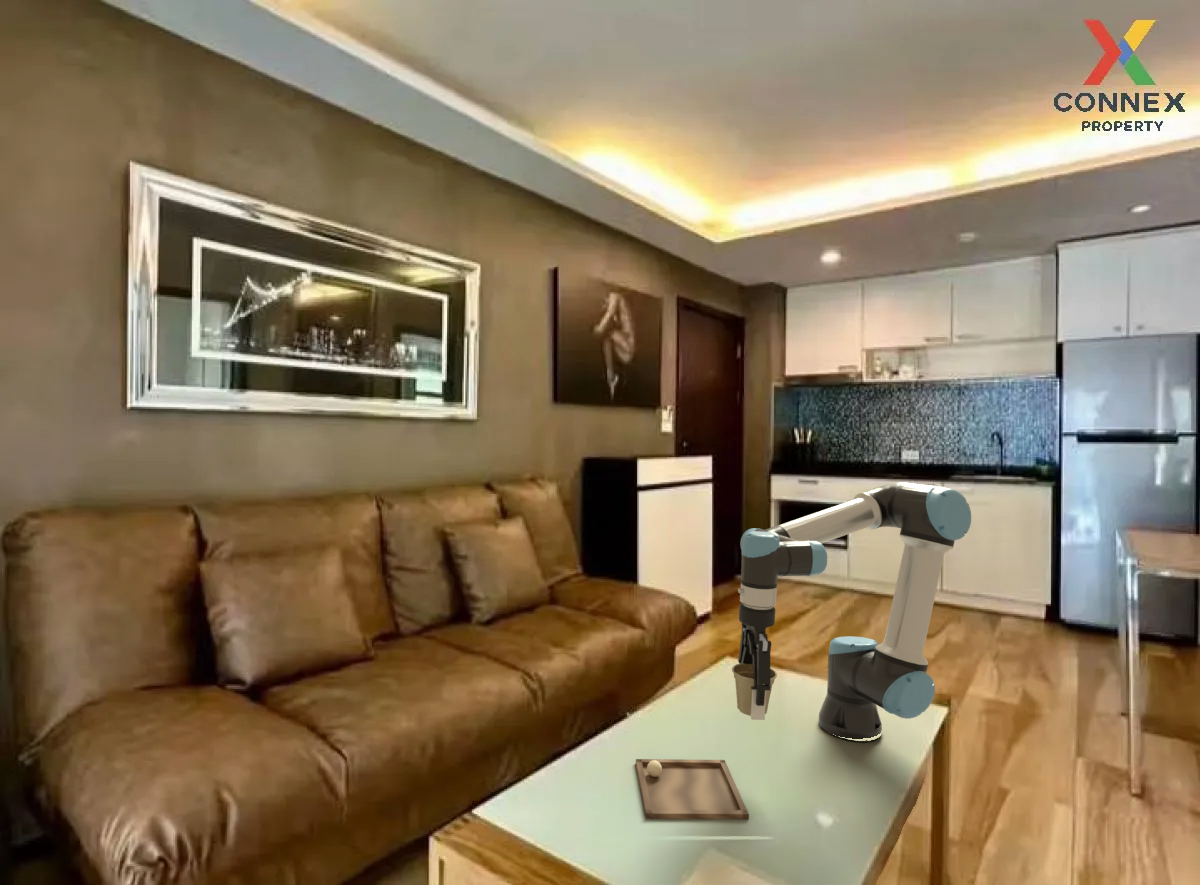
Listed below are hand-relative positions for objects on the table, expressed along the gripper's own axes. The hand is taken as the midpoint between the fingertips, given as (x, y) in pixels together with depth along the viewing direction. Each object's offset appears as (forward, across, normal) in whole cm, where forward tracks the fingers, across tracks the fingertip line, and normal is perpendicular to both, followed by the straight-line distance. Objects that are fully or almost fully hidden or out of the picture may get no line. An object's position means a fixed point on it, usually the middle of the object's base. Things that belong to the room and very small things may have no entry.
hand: (751, 709), depth 140 cm
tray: (+16, +4, -14) cm, 21 cm away
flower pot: (+1, 0, 0) cm, 1 cm away
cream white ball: (+16, -1, -20) cm, 26 cm away
